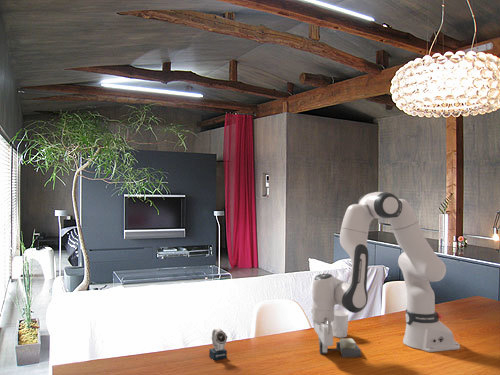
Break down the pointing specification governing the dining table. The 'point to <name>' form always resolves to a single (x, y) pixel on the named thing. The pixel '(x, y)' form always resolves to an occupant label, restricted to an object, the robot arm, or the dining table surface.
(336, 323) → the white cup
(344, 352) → the dark grey tray
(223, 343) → the watch
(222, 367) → the dining table surface
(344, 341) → the hammer
